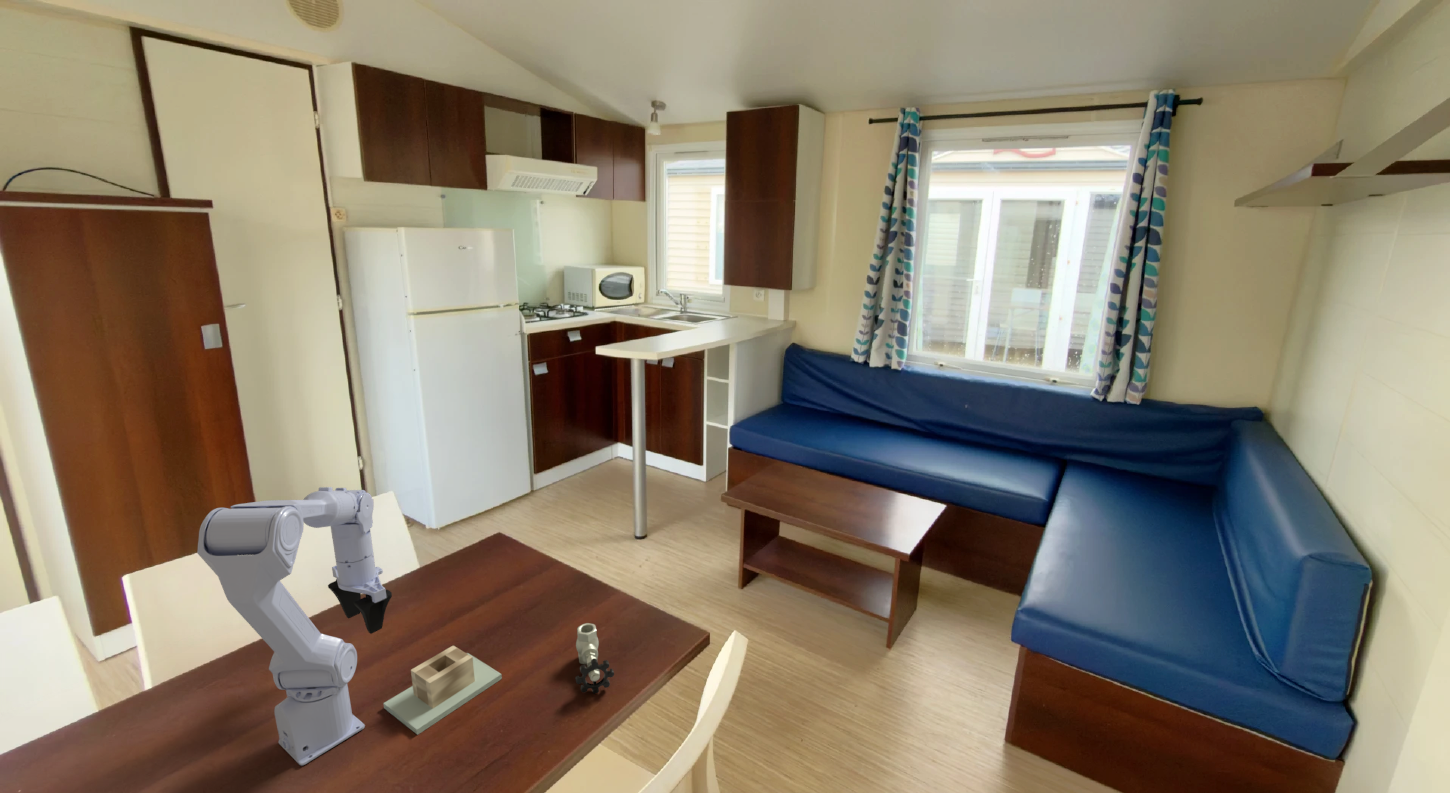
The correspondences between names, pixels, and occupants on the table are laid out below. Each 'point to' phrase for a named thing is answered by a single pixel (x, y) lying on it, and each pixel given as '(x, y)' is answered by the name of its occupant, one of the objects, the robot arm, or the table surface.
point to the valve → (590, 659)
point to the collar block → (442, 676)
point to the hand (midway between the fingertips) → (364, 622)
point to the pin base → (424, 716)
